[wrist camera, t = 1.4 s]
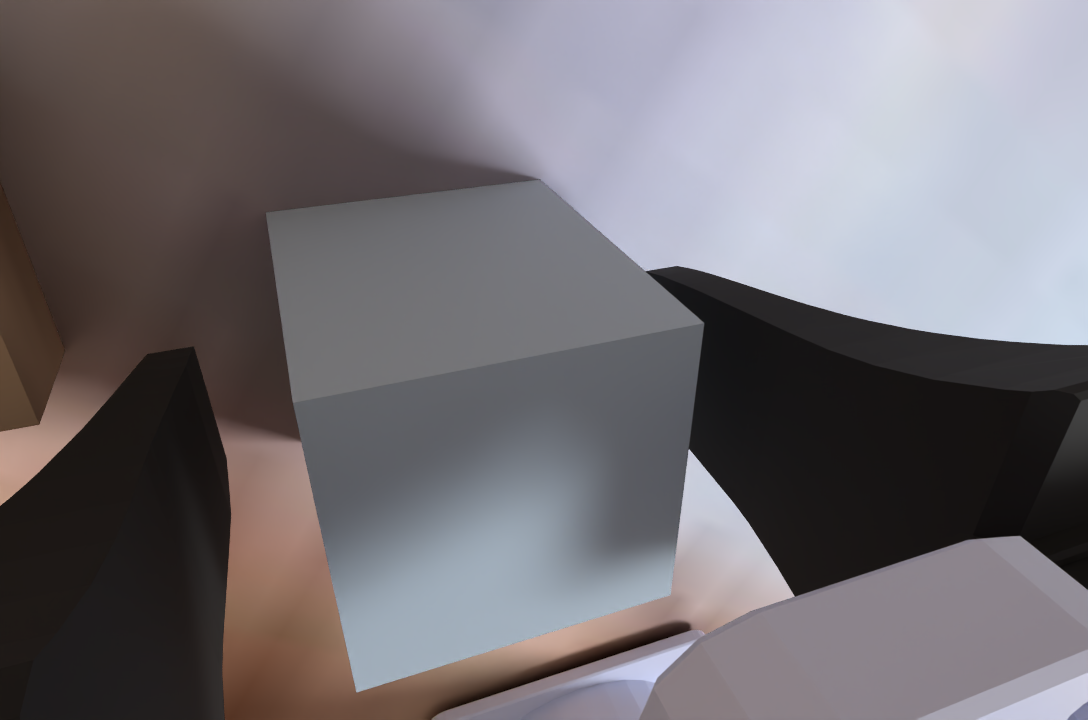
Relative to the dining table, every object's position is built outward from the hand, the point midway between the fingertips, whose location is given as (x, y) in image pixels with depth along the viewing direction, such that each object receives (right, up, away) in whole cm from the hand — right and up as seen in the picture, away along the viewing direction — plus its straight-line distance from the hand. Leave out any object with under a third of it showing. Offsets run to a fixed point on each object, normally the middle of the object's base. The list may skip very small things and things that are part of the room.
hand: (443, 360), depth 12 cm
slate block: (-1, +1, +1) cm, 2 cm away
